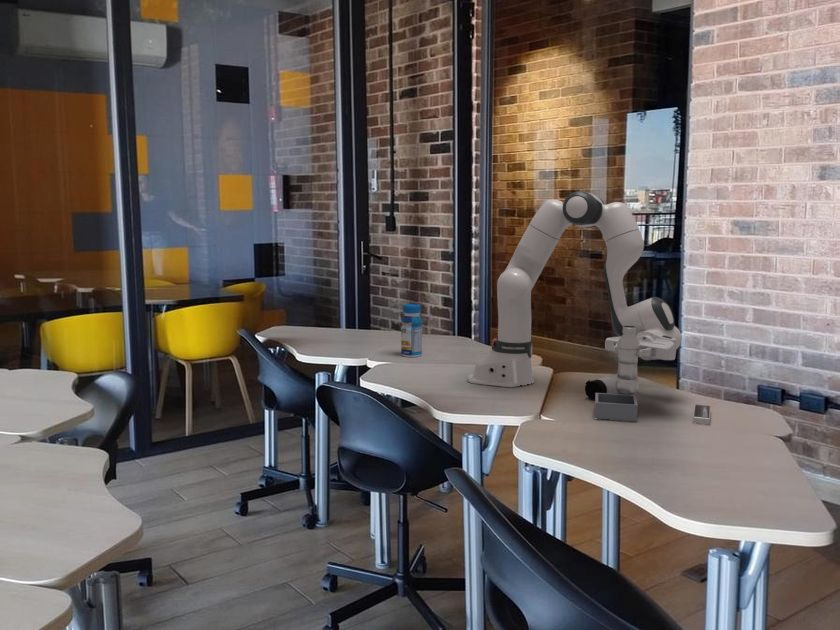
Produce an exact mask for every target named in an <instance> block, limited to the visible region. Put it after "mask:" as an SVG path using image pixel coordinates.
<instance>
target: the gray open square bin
mask: <svg viewBox="0 0 840 630" xmlns="http://www.w3.org/2000/svg"><path fill="white" fill-rule="evenodd" d="M638 408H639V407H638V400H637V395H636V394H622V393H619V394H608V393H595V400H594V419H595V418H597V419H596V420H601V419H612V420H611V421H615V420H623V421H622V422H630V421H638Z"/></svg>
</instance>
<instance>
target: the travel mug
mask: <svg viewBox="0 0 840 630" xmlns="http://www.w3.org/2000/svg"><path fill="white" fill-rule="evenodd" d="M617 375H618V373H614V374H611V375H607V376H604V377H600V378H597V379H594V380H587V381H586V382H585V385H584V386H585V387H584V392H585V395H586V396H587V398H589V399H590V400H592V401H595V393H608V394H620V393H619V392H618V391H617V389H616V379H617Z"/></svg>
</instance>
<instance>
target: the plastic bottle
mask: <svg viewBox="0 0 840 630" xmlns="http://www.w3.org/2000/svg"><path fill="white" fill-rule="evenodd" d="M622 333H623V335H622V336H621V338H620V339H619V340H618V343H617V347H618V348H617V349H618V353H617V356H618V357H617V358H618V363H617V365H618V367H617V374H618V375H617V379H616V389H617V391H618V392H619V394H624V395H636V394H637V393H638V390H639V388H640V387H639V378H638V361H639V357H638V356H636V354H637V350H639V349H640V343H639V341H638V339H637V337H636V336H635V333H636V327H635V326H631V325H625V326H623V331H622Z"/></svg>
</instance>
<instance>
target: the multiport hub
mask: <svg viewBox="0 0 840 630" xmlns="http://www.w3.org/2000/svg"><path fill="white" fill-rule="evenodd" d="M692 416H693V417H692V424H693V423H696V424H695V425H701V424H704V426H710V421H711V405H704V404H694V408H693V415H692Z"/></svg>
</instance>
